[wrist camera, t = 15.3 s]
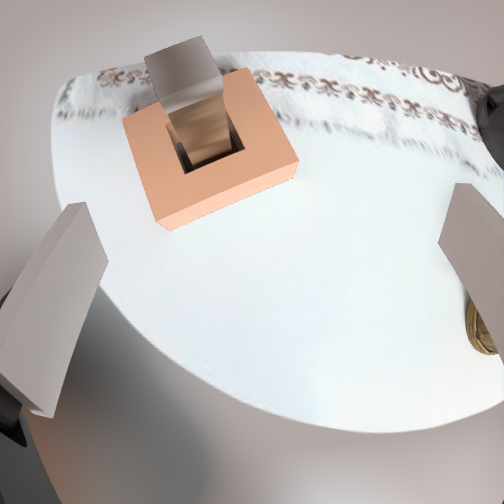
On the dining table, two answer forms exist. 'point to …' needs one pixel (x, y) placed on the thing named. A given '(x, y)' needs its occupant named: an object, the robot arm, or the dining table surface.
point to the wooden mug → (479, 332)
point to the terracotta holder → (219, 172)
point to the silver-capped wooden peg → (192, 99)
